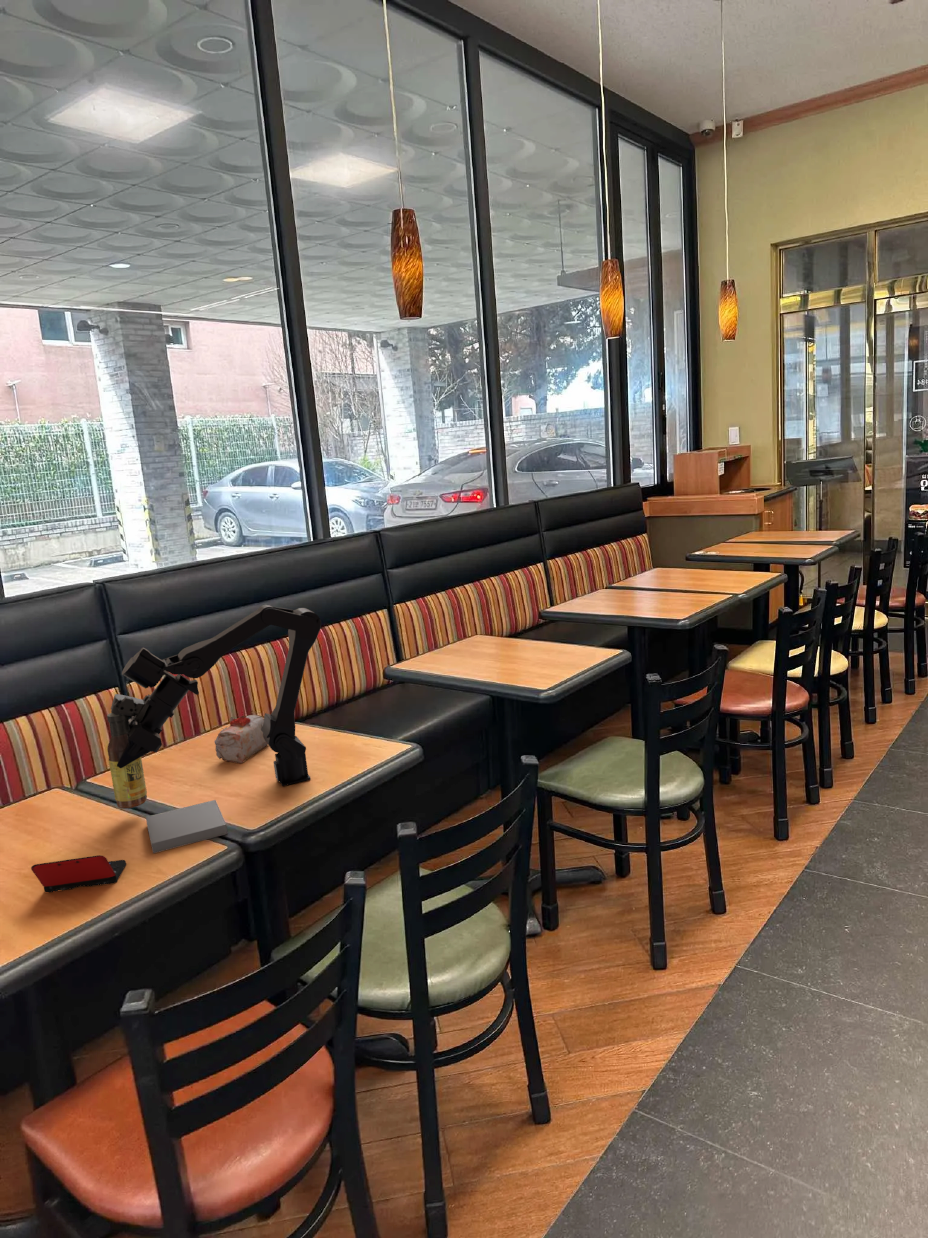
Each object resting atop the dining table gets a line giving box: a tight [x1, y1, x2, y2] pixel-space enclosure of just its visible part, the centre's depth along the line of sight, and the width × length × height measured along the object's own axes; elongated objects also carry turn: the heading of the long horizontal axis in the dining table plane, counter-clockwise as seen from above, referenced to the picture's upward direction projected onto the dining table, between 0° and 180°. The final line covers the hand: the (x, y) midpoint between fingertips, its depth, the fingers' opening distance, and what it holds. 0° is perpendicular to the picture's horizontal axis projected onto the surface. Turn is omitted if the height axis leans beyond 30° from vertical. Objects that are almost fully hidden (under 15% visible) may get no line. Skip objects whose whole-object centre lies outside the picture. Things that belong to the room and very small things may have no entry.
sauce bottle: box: [106, 712, 148, 810], centre depth 173 cm, size 6×6×20 cm
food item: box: [213, 714, 269, 764], centre depth 206 cm, size 14×8×10 cm, turn 162°
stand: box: [145, 799, 229, 854], centre depth 167 cm, size 14×14×2 cm
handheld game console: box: [30, 854, 127, 893], centre depth 149 cm, size 12×11×7 cm
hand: (117, 762), depth 172 cm, fingers closed on sauce bottle, 6 cm apart
